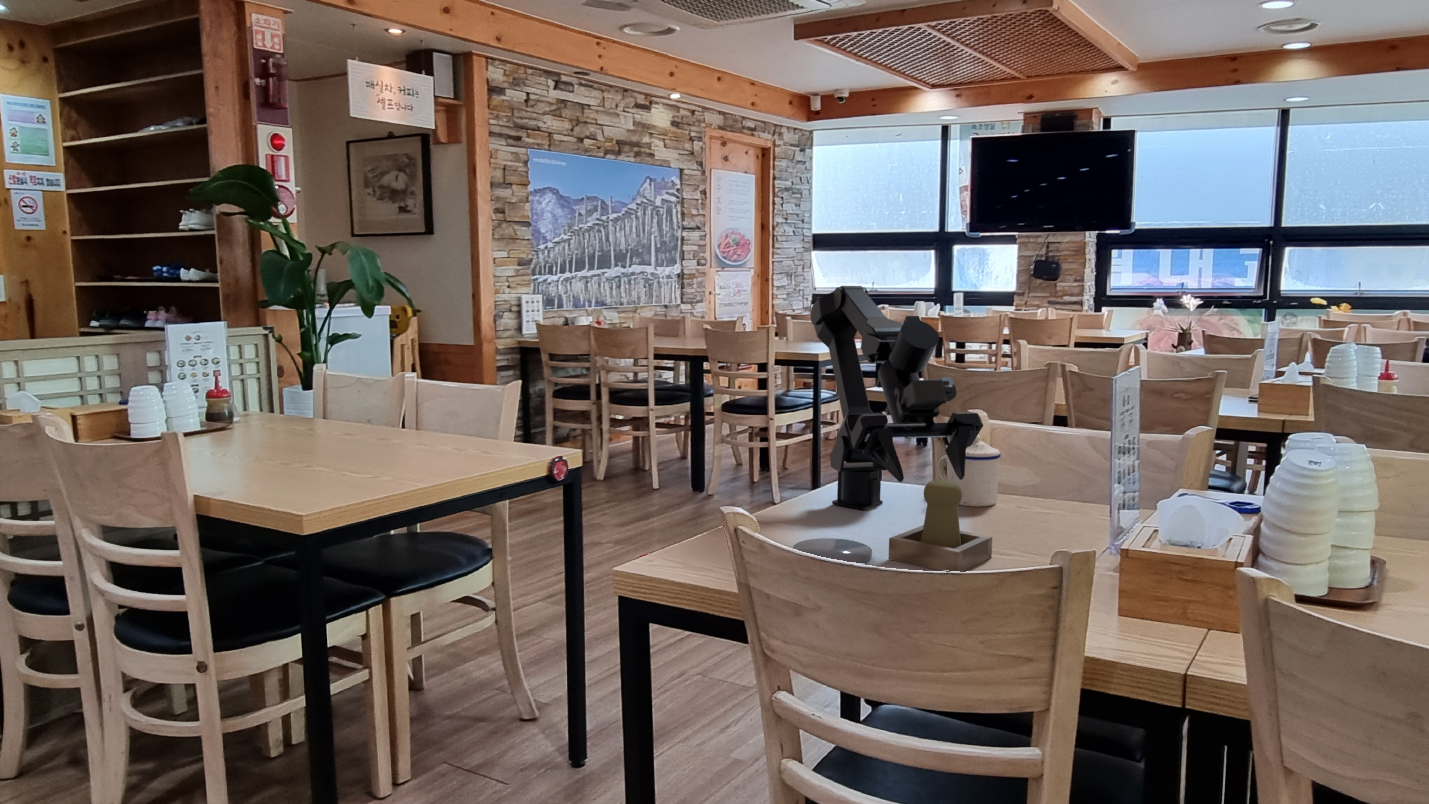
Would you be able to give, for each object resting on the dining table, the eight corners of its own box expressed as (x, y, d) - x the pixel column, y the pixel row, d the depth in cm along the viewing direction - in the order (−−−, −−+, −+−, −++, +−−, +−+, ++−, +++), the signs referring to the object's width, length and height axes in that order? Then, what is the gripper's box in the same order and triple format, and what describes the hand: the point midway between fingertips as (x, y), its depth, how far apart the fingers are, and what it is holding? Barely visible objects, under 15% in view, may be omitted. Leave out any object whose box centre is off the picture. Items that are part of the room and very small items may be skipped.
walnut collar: (888, 559, 140) (889, 538, 139) (924, 544, 147) (925, 524, 147) (957, 574, 133) (958, 552, 133) (991, 557, 141) (992, 536, 140)
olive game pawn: (963, 566, 137) (966, 486, 135) (918, 563, 138) (921, 484, 136) (961, 554, 143) (965, 477, 141) (918, 551, 144) (921, 475, 142)
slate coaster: (777, 556, 140) (777, 549, 140) (821, 540, 149) (821, 534, 149) (844, 572, 133) (844, 564, 133) (886, 554, 142) (886, 547, 142)
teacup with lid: (1009, 502, 175) (1012, 436, 173) (975, 510, 169) (978, 441, 168) (954, 490, 184) (957, 427, 182) (920, 496, 178) (923, 432, 177)
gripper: (859, 358, 143) (886, 448, 134) (980, 357, 147) (1014, 444, 138) (839, 406, 152) (864, 493, 143) (954, 404, 156) (984, 488, 147)
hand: (932, 479), depth 142 cm, fingers open, 9 cm apart
